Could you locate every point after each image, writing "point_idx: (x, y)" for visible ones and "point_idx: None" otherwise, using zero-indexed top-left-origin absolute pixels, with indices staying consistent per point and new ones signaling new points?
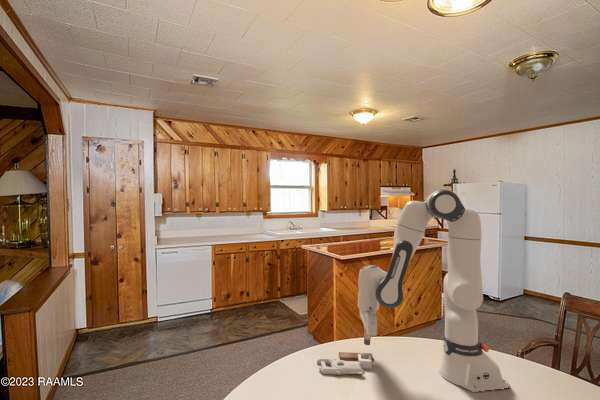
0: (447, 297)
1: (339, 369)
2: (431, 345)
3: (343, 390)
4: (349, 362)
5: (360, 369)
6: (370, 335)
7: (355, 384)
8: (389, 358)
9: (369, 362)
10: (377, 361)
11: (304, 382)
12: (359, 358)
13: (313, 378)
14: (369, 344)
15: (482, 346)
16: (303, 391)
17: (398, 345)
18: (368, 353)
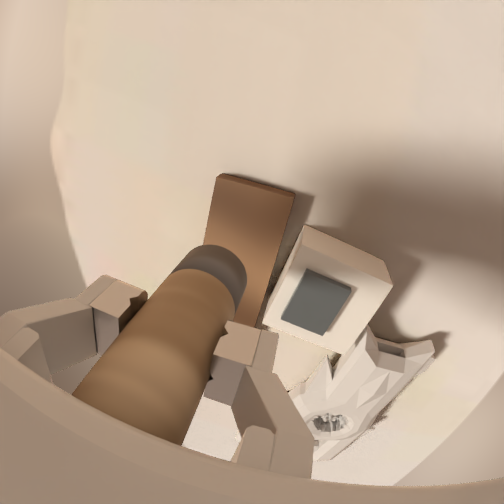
0: None
1: (362, 432)
2: None
3: (447, 420)
4: (336, 395)
5: (419, 369)
6: (271, 374)
7: (449, 382)
8: (285, 51)
9: (383, 294)
10: (309, 168)
11: (350, 479)
12: (323, 342)
13: (343, 466)
14: (242, 268)
15: None
16: (385, 483)
17: None
18: (216, 204)
